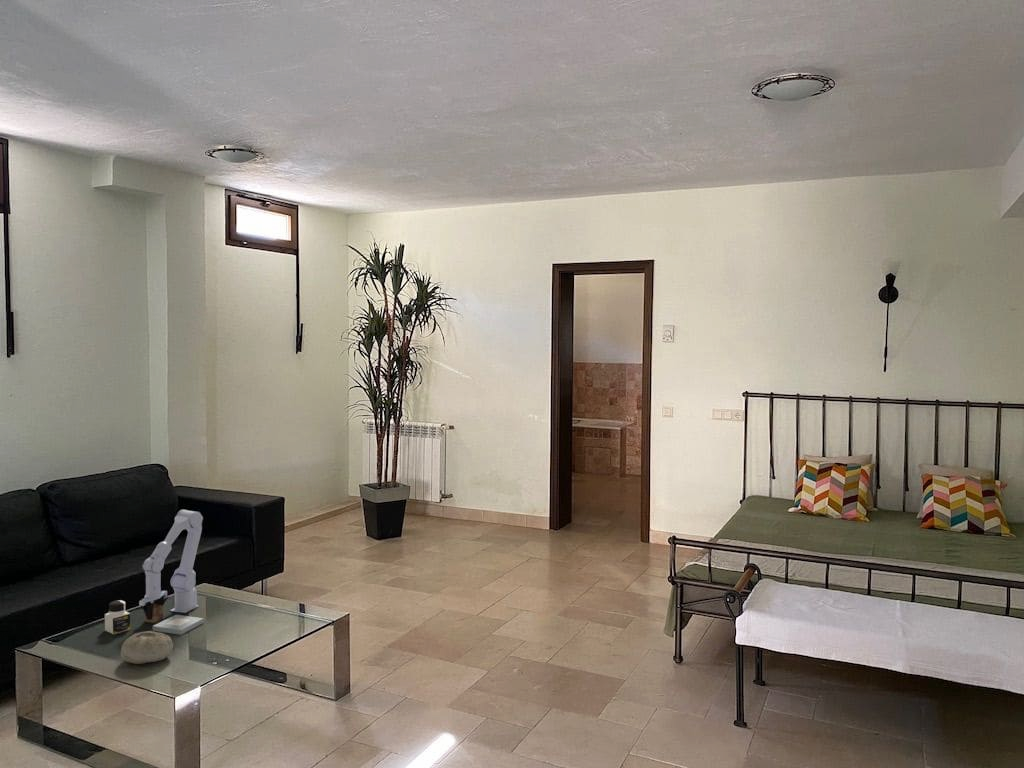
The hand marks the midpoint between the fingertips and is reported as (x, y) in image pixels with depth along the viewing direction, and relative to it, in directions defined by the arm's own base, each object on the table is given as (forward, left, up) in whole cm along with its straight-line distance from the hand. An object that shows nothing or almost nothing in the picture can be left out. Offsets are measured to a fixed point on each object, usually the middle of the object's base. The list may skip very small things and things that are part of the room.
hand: (153, 617), depth 339 cm
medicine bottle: (+14, -6, -2) cm, 15 cm away
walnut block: (0, 0, -1) cm, 1 cm away
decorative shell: (+35, +27, -2) cm, 44 cm away
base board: (+3, +15, -1) cm, 15 cm away
